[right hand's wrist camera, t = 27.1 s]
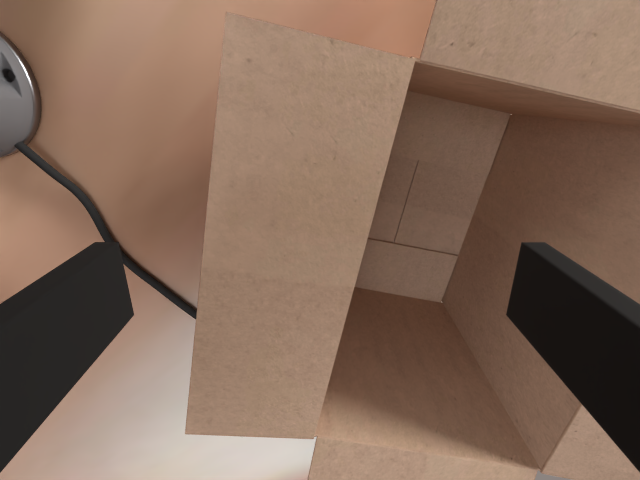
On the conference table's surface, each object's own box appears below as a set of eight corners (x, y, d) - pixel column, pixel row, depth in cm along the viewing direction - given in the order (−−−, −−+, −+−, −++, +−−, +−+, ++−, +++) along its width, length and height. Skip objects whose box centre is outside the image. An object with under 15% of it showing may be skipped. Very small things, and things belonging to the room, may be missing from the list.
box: (478, 361, 56) (611, 584, 30) (243, 321, 53) (173, 528, 28) (619, 43, 40) (1131, -46, 15) (297, -36, 38) (250, -307, 12)
